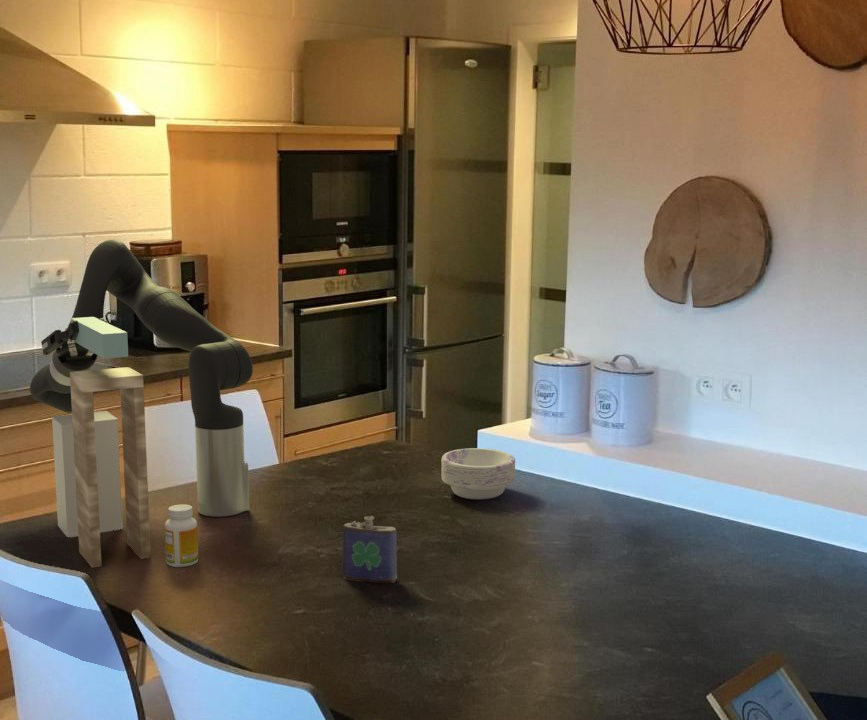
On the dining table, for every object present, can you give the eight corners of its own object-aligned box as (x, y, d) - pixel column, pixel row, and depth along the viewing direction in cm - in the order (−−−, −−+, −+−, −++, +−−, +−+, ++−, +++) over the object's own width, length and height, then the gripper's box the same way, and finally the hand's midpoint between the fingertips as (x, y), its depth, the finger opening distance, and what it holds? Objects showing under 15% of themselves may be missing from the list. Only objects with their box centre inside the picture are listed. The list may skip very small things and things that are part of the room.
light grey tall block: (111, 517, 217) (106, 410, 214) (122, 529, 210) (117, 418, 207) (58, 525, 212) (51, 416, 209) (67, 537, 205) (61, 424, 202)
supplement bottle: (202, 557, 195) (200, 503, 194) (192, 568, 190) (190, 512, 188) (172, 556, 196) (170, 502, 194) (161, 567, 190) (159, 511, 189)
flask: (398, 579, 185) (398, 516, 183) (393, 585, 182) (392, 521, 181) (345, 573, 188) (344, 511, 186) (339, 579, 185) (338, 516, 183)
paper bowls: (517, 504, 226) (517, 466, 225) (441, 504, 227) (441, 465, 225) (512, 483, 241) (513, 447, 240) (441, 483, 242) (441, 447, 240)
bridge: (136, 542, 203) (128, 367, 197) (150, 557, 195) (143, 375, 190) (79, 552, 198) (69, 372, 192) (91, 567, 190) (82, 380, 185)
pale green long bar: (94, 338, 204) (93, 316, 203) (128, 356, 185) (127, 332, 185) (72, 340, 202) (70, 318, 201) (103, 358, 183) (102, 334, 183)
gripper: (30, 344, 210) (44, 307, 195) (107, 338, 217) (126, 302, 203) (36, 382, 207) (51, 347, 193) (114, 375, 215) (134, 341, 200)
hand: (90, 324), depth 198 cm, fingers closed on pale green long bar, 4 cm apart
